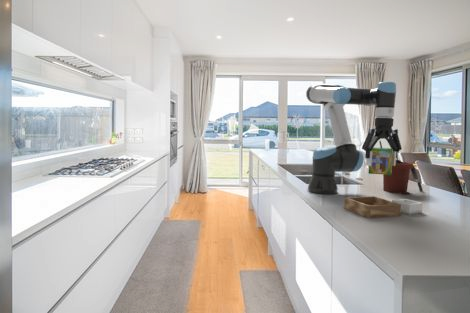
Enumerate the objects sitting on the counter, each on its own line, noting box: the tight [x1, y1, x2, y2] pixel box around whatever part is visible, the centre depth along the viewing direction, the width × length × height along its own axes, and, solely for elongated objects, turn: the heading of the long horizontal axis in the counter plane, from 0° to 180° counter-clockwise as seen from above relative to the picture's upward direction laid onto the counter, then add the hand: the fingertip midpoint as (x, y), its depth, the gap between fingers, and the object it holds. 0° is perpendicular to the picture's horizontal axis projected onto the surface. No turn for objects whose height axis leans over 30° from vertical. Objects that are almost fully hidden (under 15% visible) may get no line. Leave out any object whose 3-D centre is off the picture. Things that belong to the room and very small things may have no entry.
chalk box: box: [367, 140, 393, 176], centre depth 143 cm, size 9×9×15 cm
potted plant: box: [382, 151, 424, 196], centre depth 174 cm, size 18×22×25 cm
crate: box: [343, 195, 401, 219], centre depth 129 cm, size 15×15×4 cm
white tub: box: [391, 198, 423, 215], centre depth 132 cm, size 8×8×4 cm
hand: (380, 165), depth 144 cm, fingers closed on chalk box, 12 cm apart
